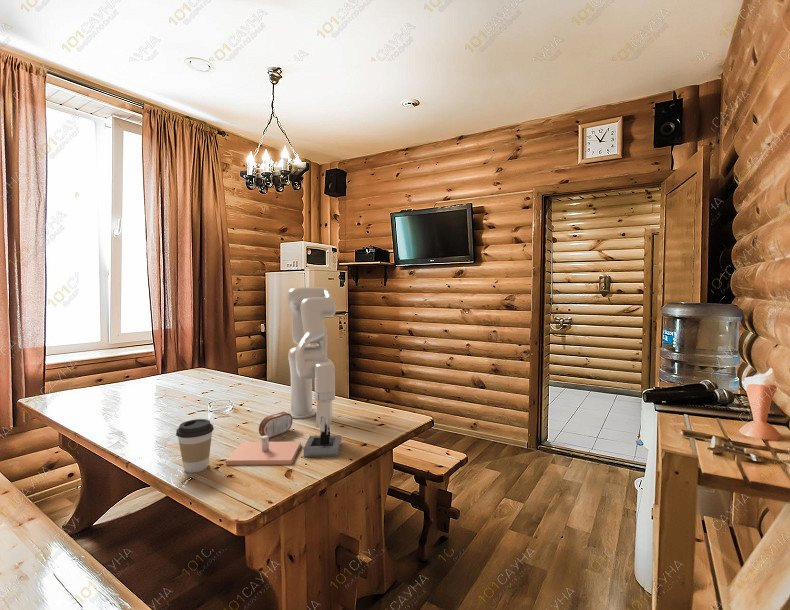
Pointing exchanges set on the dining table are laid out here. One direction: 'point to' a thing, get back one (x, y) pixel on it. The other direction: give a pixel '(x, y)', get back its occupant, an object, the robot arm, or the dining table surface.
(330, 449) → the grey square frame
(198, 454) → the coffee cup
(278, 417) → the tin
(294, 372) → the robot arm
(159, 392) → the dining table surface
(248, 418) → the dining table surface
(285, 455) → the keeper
